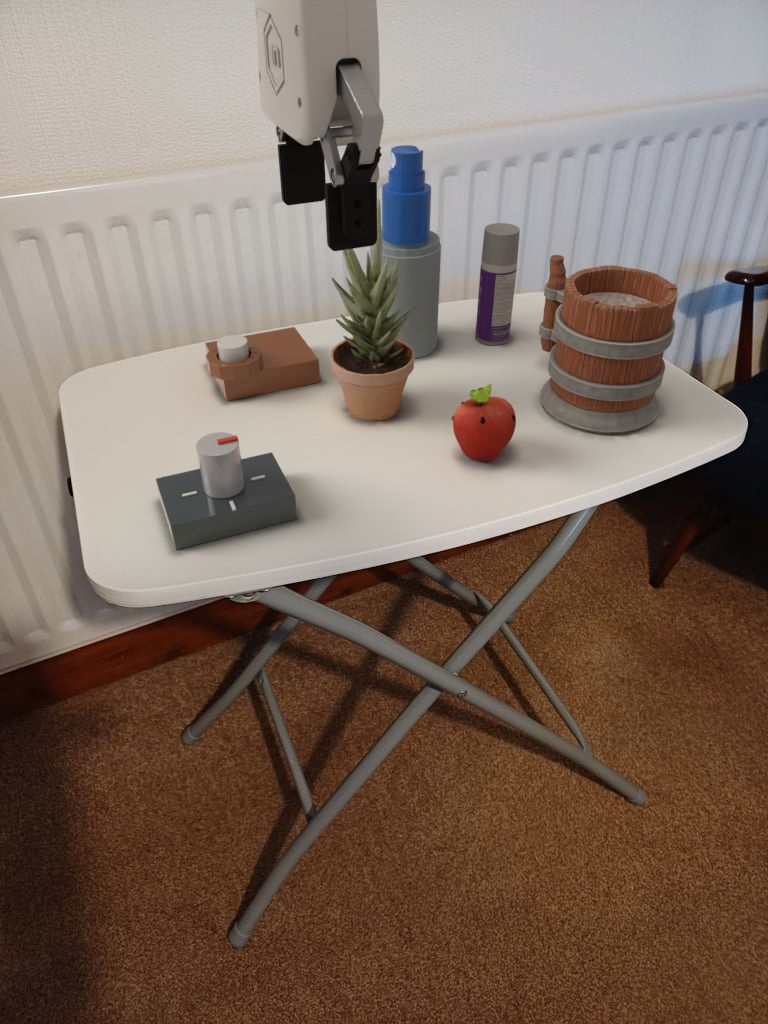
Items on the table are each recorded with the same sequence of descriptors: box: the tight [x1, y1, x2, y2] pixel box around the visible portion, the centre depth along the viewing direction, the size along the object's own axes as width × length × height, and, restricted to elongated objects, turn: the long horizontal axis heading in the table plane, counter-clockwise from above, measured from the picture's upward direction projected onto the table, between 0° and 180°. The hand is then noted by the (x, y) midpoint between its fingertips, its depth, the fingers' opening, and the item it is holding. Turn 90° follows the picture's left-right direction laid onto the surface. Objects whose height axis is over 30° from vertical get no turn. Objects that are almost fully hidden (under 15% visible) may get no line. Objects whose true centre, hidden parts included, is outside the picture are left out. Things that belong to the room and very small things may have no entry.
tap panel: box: [155, 452, 298, 551], centre depth 78 cm, size 12×8×3 cm
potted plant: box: [330, 197, 419, 422], centre depth 86 cm, size 10×10×25 cm
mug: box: [538, 254, 679, 435], centre depth 92 cm, size 14×19×15 cm
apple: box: [451, 384, 517, 463], centre depth 83 cm, size 8×7×10 cm
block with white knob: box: [204, 326, 321, 402], centre depth 98 cm, size 13×11×5 cm
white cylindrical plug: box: [216, 334, 249, 363], centre depth 94 cm, size 4×4×2 cm
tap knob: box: [195, 431, 245, 498], centre depth 75 cm, size 4×4×5 cm
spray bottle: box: [369, 144, 442, 360], centre depth 99 cm, size 9×9×25 cm
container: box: [474, 222, 521, 346], centre depth 104 cm, size 5×5×15 cm
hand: (326, 223), depth 53 cm, fingers open, 9 cm apart
